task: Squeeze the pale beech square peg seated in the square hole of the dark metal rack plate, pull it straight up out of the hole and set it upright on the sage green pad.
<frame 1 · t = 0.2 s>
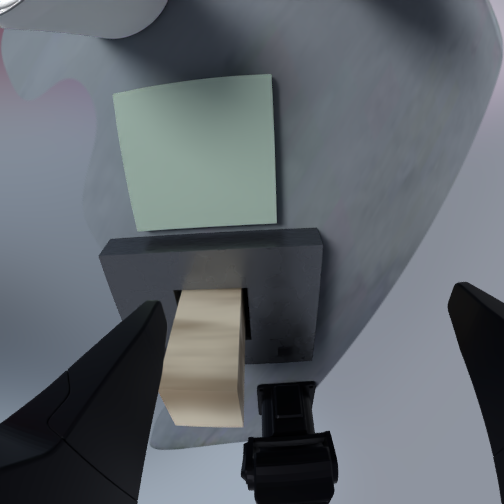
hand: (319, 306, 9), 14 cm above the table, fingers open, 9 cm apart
peg: (210, 344, 22), in the rack plate
rack plate: (217, 296, 27), on the table
pad: (197, 153, 20), on the table
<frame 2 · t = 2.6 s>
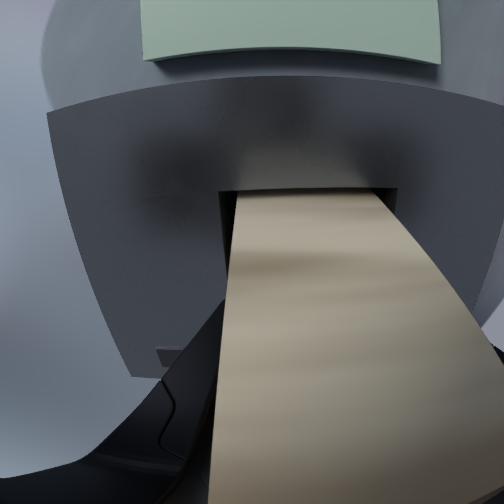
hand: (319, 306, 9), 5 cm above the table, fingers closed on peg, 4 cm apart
peg: (325, 330, 8), in the rack plate, touching gripper
rack plate: (299, 232, 13), on the table
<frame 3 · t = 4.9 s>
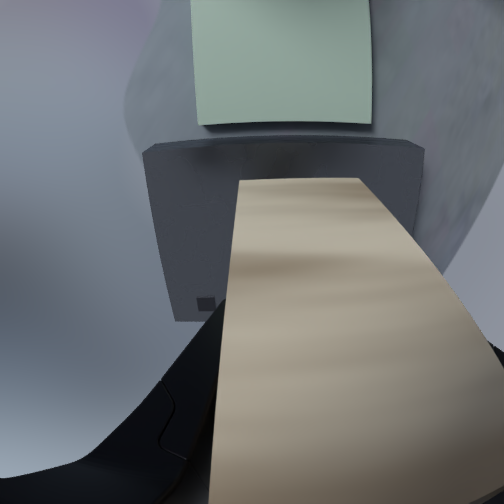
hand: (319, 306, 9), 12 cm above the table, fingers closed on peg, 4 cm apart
peg: (325, 331, 8), point 13 cm above the table, touching gripper
rack plate: (286, 225, 21), on the table
pad: (282, 39, 15), on the table
when the fingers open (6 cm above the table, at t = 7.2 s): peg stays where it is, resting on pad.
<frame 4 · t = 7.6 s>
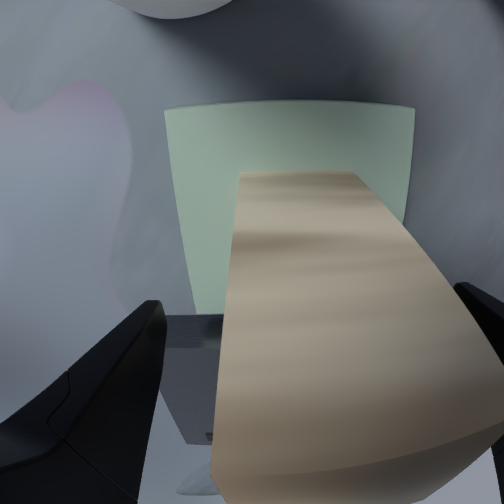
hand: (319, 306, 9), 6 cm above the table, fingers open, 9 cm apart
peg: (320, 306, 9), on the pad, point 6 cm above the table
rack plate: (289, 376, 20), on the table
pad: (294, 211, 14), on the table
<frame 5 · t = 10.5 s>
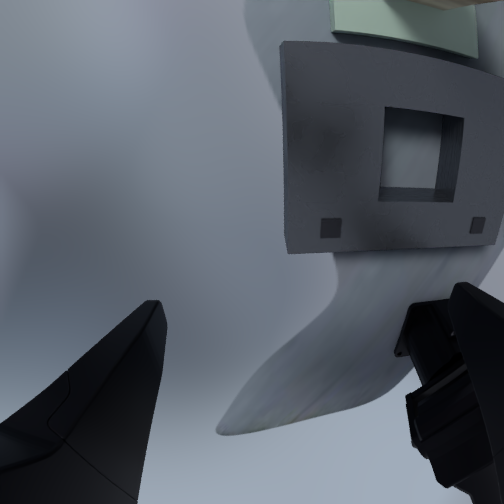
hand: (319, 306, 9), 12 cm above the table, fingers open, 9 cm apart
rack plate: (406, 147, 18), on the table
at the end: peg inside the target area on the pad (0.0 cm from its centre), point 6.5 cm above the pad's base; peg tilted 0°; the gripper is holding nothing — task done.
